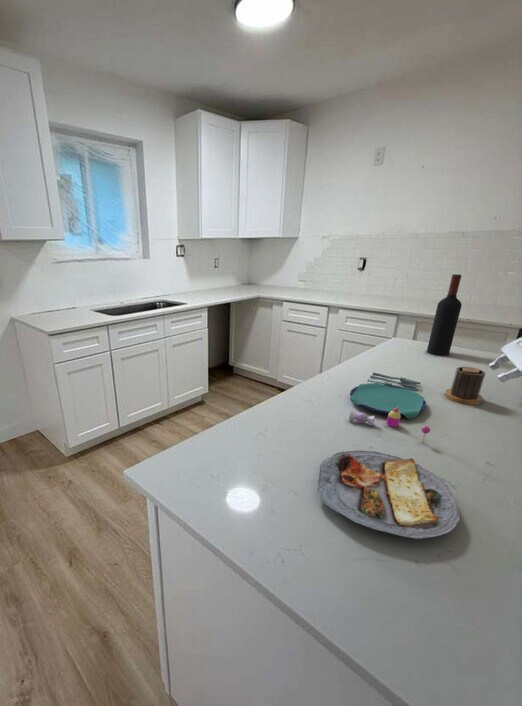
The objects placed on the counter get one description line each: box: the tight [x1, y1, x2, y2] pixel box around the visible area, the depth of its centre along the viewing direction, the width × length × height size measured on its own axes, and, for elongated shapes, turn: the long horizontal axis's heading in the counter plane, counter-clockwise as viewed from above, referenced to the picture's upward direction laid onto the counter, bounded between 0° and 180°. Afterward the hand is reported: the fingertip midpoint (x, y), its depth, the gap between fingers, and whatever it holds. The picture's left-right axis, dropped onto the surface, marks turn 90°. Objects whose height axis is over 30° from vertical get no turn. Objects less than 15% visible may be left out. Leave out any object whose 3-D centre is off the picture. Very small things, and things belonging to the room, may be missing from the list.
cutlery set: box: [349, 372, 427, 420], centre depth 109 cm, size 20×30×2 cm, turn 143°
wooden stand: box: [444, 366, 483, 406], centre depth 105 cm, size 9×9×9 cm
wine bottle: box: [426, 273, 463, 357], centre depth 138 cm, size 8×8×30 cm
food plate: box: [316, 450, 461, 540], centre depth 69 cm, size 25×23×4 cm
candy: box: [348, 405, 431, 444], centre depth 92 cm, size 18×8×6 cm, turn 57°
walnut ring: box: [450, 366, 486, 399], centre depth 105 cm, size 7×7×8 cm
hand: (494, 373), depth 102 cm, fingers open, 8 cm apart
